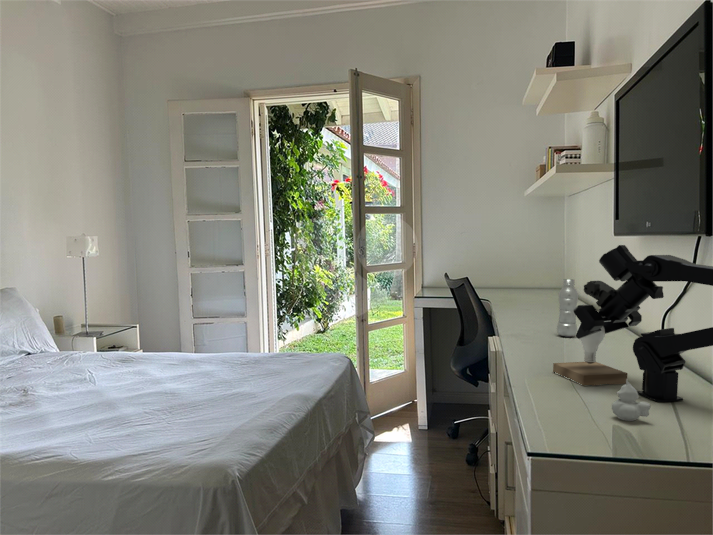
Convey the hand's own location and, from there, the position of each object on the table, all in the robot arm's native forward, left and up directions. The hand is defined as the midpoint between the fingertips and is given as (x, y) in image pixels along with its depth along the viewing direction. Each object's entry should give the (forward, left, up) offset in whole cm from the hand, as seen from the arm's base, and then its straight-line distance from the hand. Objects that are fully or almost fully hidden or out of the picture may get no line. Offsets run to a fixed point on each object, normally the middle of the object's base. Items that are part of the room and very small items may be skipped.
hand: (586, 335), depth 132 cm
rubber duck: (-29, +12, -11) cm, 33 cm away
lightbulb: (-1, 0, -7) cm, 7 cm away
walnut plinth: (-1, 0, -10) cm, 10 cm away
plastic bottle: (+48, -28, -10) cm, 57 cm away
